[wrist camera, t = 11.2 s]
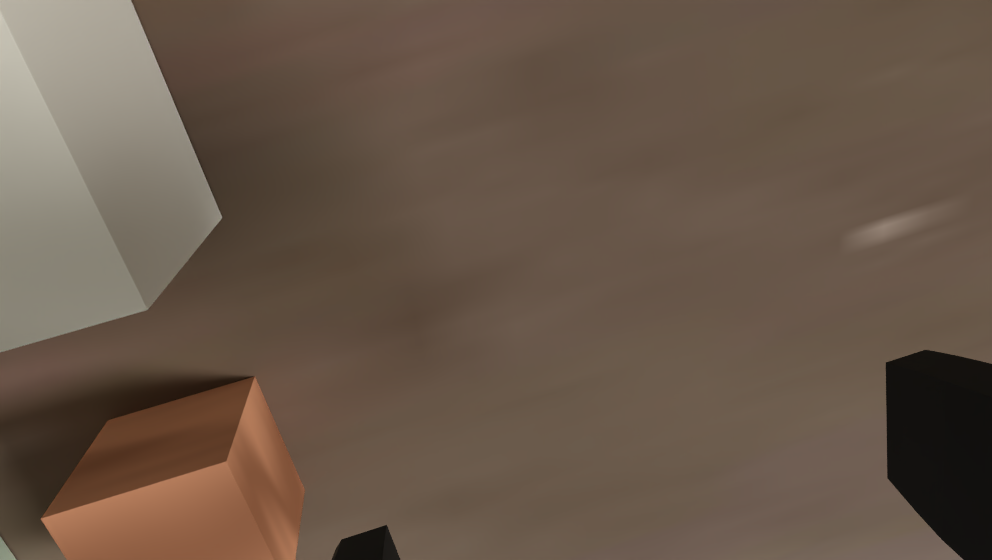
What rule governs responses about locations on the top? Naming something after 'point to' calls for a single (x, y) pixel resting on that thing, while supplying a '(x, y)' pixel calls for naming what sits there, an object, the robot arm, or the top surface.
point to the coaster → (5, 552)
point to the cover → (89, 170)
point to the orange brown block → (184, 484)
